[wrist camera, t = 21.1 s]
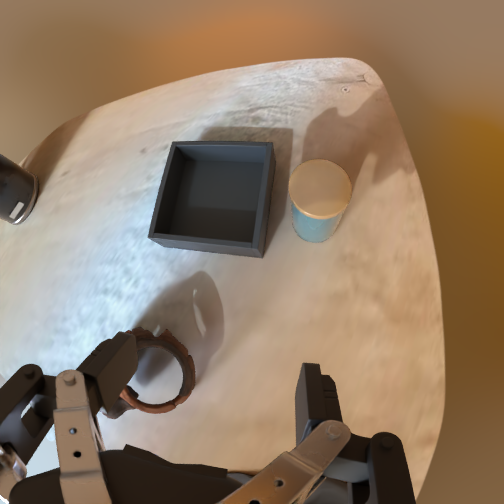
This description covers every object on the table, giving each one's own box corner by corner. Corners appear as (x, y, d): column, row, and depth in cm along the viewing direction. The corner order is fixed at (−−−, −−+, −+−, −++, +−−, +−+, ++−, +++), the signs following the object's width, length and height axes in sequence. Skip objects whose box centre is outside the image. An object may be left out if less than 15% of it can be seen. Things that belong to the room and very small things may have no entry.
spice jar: (282, 230, 30) (277, 198, 22) (304, 190, 31) (306, 149, 23) (325, 252, 29) (336, 228, 21) (346, 211, 30) (361, 175, 22)
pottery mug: (138, 305, 32) (139, 308, 24) (203, 353, 33) (222, 368, 26) (83, 383, 27) (70, 407, 20) (149, 427, 29) (155, 460, 22)
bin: (163, 246, 32) (147, 237, 28) (184, 158, 34) (172, 141, 30) (263, 258, 30) (258, 249, 26) (275, 161, 32) (272, 142, 28)
